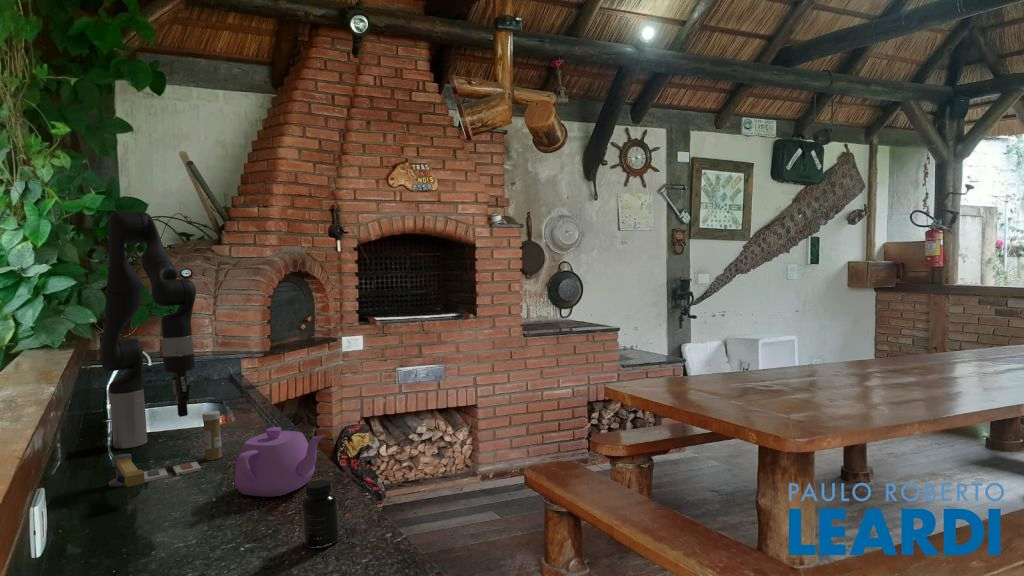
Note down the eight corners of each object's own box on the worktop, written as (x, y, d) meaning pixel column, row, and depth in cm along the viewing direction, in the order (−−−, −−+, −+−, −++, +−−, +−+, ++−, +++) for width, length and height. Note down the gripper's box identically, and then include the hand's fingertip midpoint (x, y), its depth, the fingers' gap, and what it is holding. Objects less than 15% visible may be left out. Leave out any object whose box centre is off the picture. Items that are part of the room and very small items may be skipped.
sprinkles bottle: (223, 458, 186) (220, 412, 185) (206, 461, 184) (203, 415, 183) (221, 454, 190) (218, 409, 189) (204, 457, 188) (201, 412, 187)
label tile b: (172, 469, 179) (172, 465, 178) (196, 464, 182) (196, 460, 182) (176, 475, 173) (176, 471, 173) (201, 470, 176) (200, 466, 176)
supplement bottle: (308, 535, 132) (305, 478, 132) (342, 533, 133) (339, 476, 132) (300, 551, 125) (296, 490, 125) (336, 548, 126) (332, 488, 125)
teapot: (212, 504, 151) (208, 441, 150) (271, 474, 171) (268, 417, 170) (295, 513, 144) (291, 446, 144) (347, 480, 164) (343, 421, 164)
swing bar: (130, 460, 172) (129, 451, 171) (146, 482, 154) (146, 472, 154) (110, 464, 169) (110, 455, 169) (125, 487, 151) (124, 477, 151)
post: (108, 482, 170) (106, 465, 169) (136, 476, 173) (134, 459, 173) (109, 489, 164) (108, 471, 164) (138, 483, 168) (137, 465, 168)
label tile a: (139, 475, 174) (139, 471, 174) (164, 470, 177) (164, 466, 177) (142, 482, 168) (142, 478, 168) (168, 477, 172) (168, 473, 172)
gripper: (159, 352, 179) (164, 413, 180) (166, 357, 168) (171, 423, 169) (189, 348, 183) (193, 409, 184) (198, 353, 172) (202, 418, 173)
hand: (182, 415), depth 176 cm, fingers closed
